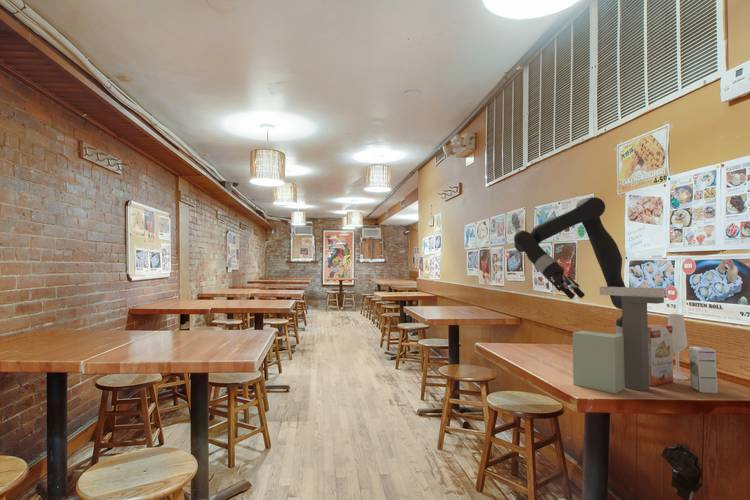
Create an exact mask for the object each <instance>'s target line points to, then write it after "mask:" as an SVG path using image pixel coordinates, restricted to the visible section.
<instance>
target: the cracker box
mask: <svg viewBox="0 0 750 500" xmlns="http://www.w3.org/2000/svg"><path fill="white" fill-rule="evenodd" d="M673 356H674V351H673V327H672V326H670V325H668V324H658V323H655V324H648V359H649V387H653V386H654V387H655V386H658V385H663V384H664V385H665V384H670V383H674V378H673V373H674V357H673Z"/></svg>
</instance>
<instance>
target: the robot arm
mask: <svg viewBox="0 0 750 500" xmlns="http://www.w3.org/2000/svg"><path fill="white" fill-rule="evenodd" d="M605 212H606V204H605V201H603V200H602V199H601V198H599V197H596V196H595V197H593V196H592V197H586V198H582V199H581V200H579V201H578V202H577V204H576V207H575V208H573V209H571V210H570V211H567V212H565V213H562V214H560V215H558V216H554V217H552V218H549V219H547V220H545V221H543V222H540V223H539V224H537V225H535V226H534V227H533V228H532V231H530V232H528V231H527V230H518V231H517V232H516V233H515V234H514V236H513V240H514V248H515V249H516V250H517V251H518V252H521V253H525V254H526V257H527V259H528V260H529V261H530V262H531V263H532V264H533V265H534V267H536V269H537V270H538V272H540V274H542V276H543V277H544V278H545V279H546V280H547V281H548V282H549V283H551V284H552V286H554V287H555V288H556V290H557V291H559V292H562V293H564V294H565V296H567V298H568V299H570V300H572V299H574V297H575V295H576V296H578V298H579V299H583V297H585V295H586V294H585V293H584V292H583V291H582V290H581V289H580V288H579V287H580V284H579V283H577V282H576V281H575V280H574V278H572V276H570V275H568V276H566V275H565V274H564V273H565V269H564V267H563V266H562V265H560V264H559V262H557V261H556V259H554V258H553V257H552V256H551V255H549V254H548V253H547V252H546V251H545V249H543V248H542V247H541V246H540V243H542V242H544V241H545V240H547V239H550V238H551V237H554V236H555V235H558V234H560V233H561V232H563V231H565V230H567V229H569V228H572V227H574V226H575V225H578V224H582V226H583V227H584V229H585V231H586V233H587V236H588V240H589V242H590V245H591V247H592V249H593V253H594V255H595V258H596V261H597V263H598V264H599V267H600V270H601V272H602V275H603V277H604V280H605V282H606V287H626V285H625V283H624V280H623V277H622V267H623V257H622V254H621V251H620V248H619V246H618V244H617V243H616V241H615V240H614V238H613V237H612V235H610V233H609V232H608V230H607V229H606V228H605V226H604V225H603V223H602V220H601V216H602V215H603V214H604V213H605ZM609 297H610V300H611V304H612V305H613V306H614V307H615V308H616V309H619V310H621V311H622V302H621V296H615V295H609ZM615 334H616V335H623V331H622V315H621V316H620V317H618V318H617V319H616V320H615Z"/></svg>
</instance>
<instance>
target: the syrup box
mask: <svg viewBox="0 0 750 500" xmlns="http://www.w3.org/2000/svg"><path fill="white" fill-rule="evenodd" d="M688 349H689V350H688V351H689V354H688V355H689V372H690V388H691V389H693V390H695V391H697V392H699V393H705V394H707V393H709V394H718V393H719V391H718V390H719V389H718V386H719V385H718V372H717V369H718V368H717V352H716V349H713V348H709V347H706V346H689V347H688Z"/></svg>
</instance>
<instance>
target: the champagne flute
mask: <svg viewBox="0 0 750 500" xmlns="http://www.w3.org/2000/svg"><path fill="white" fill-rule="evenodd" d="M667 317H668V318H667V319H668V320H667V325H670V326H672V327H673V352H674V353H675V354H674V358H675V359H674V361H675V372H673V380H674V379H675V380H684V381H685V379H686V380H689V379H688V378H689V377H687V376H685V374H683V373H681V372H680V371H681V370H680V352H682V351H683V350H685V349H686V348H687V346H688V338H687V332H686V331H687V330H686V324H685V323H686V322H685V315H684V314H677V313H676V314H675V313H669V314H668V316H667Z"/></svg>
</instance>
